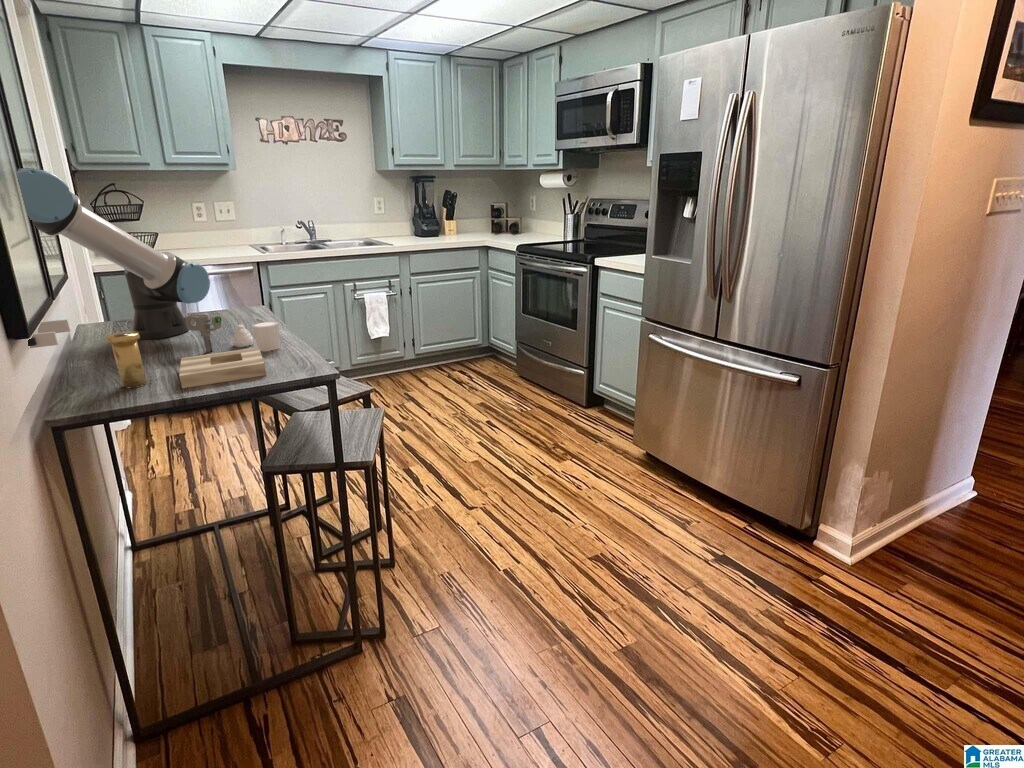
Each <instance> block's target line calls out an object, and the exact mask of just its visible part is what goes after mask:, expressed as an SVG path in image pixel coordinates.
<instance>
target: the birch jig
mask: <svg viewBox="0 0 1024 768" xmlns="http://www.w3.org/2000/svg"><path fill="white" fill-rule="evenodd" d="M261 352H262V351H260V349H259V347H258V346H257V347H251V348H243V349H237V350H230V351H224V352H215V353H208V354H201V355H193V356H187V357H181V359H180V367H179V375H178V376H179V380H180V381H179V382H180V385H181V388H182V389H186V388H187V387H188V388H194V387H199V386H205V385H213V384H217V383H226V382H230V381H236V380H237V381H238V380H245V379H249V378H254V377H255V378H256V377H262V376H267V370H266V364H265V361H264V357H263V354H262V353H261ZM188 388H187V389H188Z"/></svg>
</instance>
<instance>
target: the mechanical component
mask: <svg viewBox="0 0 1024 768" xmlns="http://www.w3.org/2000/svg"><path fill="white" fill-rule="evenodd" d="M184 321H185V322H186V323H187V327H188V329H189V330H188V331H193V332H194V331H195V332H196V331H197V332H200V337H202V338H203V343H204V348H205V351H206V353H211V352H213V350H214V349H213V346H212V342H211V341H212V340H211V335H212V333H211V332H214V331H217V330H218V329H221V327H222V318H221V317H220V316H218V315H214V316H212V317H211V318H210V317H209V314H189V315H187V316H184ZM212 325H213V326H212Z"/></svg>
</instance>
